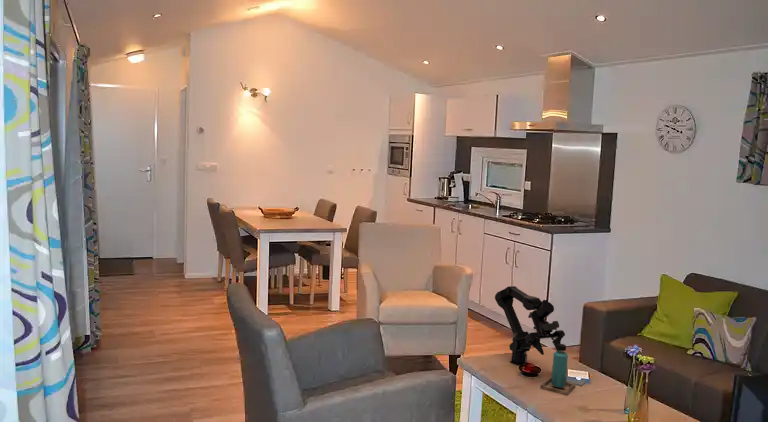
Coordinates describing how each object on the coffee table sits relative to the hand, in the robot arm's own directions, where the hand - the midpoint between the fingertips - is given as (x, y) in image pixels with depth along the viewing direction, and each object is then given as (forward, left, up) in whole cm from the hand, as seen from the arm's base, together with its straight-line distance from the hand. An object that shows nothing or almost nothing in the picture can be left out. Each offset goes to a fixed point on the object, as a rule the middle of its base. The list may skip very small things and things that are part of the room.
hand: (551, 353), depth 297 cm
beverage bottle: (+6, -5, -13) cm, 15 cm away
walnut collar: (+6, -5, -13) cm, 15 cm away
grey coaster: (+9, +9, -13) cm, 18 cm away
